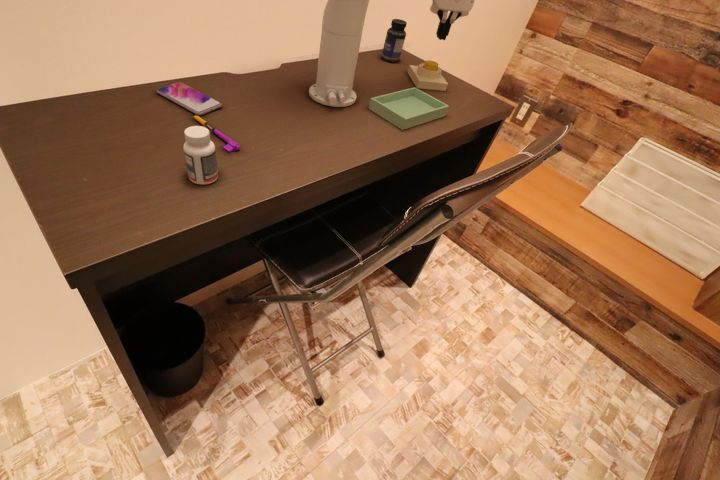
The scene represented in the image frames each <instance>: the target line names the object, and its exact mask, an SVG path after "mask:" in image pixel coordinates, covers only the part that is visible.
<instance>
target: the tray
mask: <svg viewBox="0 0 720 480" xmlns="http://www.w3.org/2000/svg"><path fill="white" fill-rule="evenodd" d="M449 108H450V105H448V104H447V103H445V102H443V101H441V100H439V99H437V98H435V97H434V96H431V95H430V94H428V93H426V92H425V91H423V90H422V89H419V88H417V87H416V86H414V87H410V88H407V89H401V90H397V91H394V92H389V93H386V94H381V95H378V96H374V97H370V100H369V104H368V110H369V111H371V112H373V113H374V114H376V115H378V116H379V117H381V119H384V120H385V121H387V122H389V123H391V125H393V126H395V127H397V128H398V129H399V130H402V131H405V130H407V129H411V128H414V127H416V126H420V125H423V124H425V123H429V122H432V121H436V120H438V119H441V118H444V117H446V116H447V113H448V111H449Z"/></svg>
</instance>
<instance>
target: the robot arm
mask: <svg viewBox="0 0 720 480" xmlns="http://www.w3.org/2000/svg"><path fill="white" fill-rule="evenodd" d="M475 2H476V0H432V4H431V5H430V8H429V11H430V12H431V13H433V14H435V15H437V17H438V20H439V21H438V25H437V29H436V38H437V39H438V40H439V41H446V39H447V37H448V36H449V33H450V32H451V28H452V25H453V24H454V23H455V22H456V21H457V20H458V19H460V18H464V17H468V15H469V13H470V12H471V11H472V9H473V7H474V4H475ZM369 3H370V0H327V1H326V5H325V7H324V10H323V15H322V22H321V33H320V42H319V53H318V61H317V70H316V80H315V83H313V84H311V86H310V87H309V88H308V95H309V97H310V99H312V100H313V101H314V102H316V103H319V104H321V105H323V106H328V107H331V108H332V107H333V108H344V107H349V106H352V105H354V104H355V103H356V101H357V98H358V97H357V93H356V92H355V90H353V86H354V82H355V75H356V74H355V73H356V69H357V64H358V59H359V53H360V49H361V48H360V47H361V42H362V38H363V37H362V36H363V30H364V26H365V20H366V16H367V15H366V14H367V11H368V7H369Z"/></svg>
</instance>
